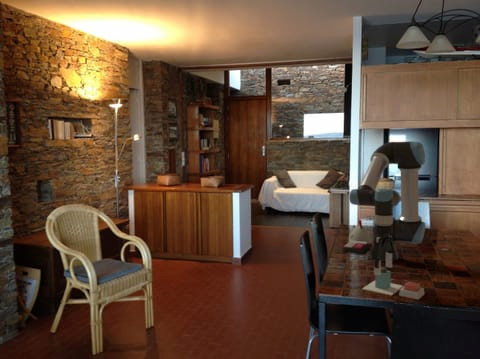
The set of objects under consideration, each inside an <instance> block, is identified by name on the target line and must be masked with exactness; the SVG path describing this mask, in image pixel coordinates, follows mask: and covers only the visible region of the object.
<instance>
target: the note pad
mask: <svg viewBox="0 0 480 359" xmlns="http://www.w3.org/2000/svg"><path fill="white" fill-rule="evenodd" d="M402 287H404V285H401V284H397V283H392V282H391V284H390V287H389V288H388V289H387V290H385V289H381V288H376V287H375V280H373V281H372V282H370V283H368V284H367V285H365V286H364V287H362V290H363V291H367V292H371V293H378V294H382V295H387V296H390V297H391V296H393V295H394V294H395V293H397V292H398V291H400V289H401V288H402Z"/></svg>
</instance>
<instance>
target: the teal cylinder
mask: <svg viewBox="0 0 480 359" xmlns="http://www.w3.org/2000/svg"><path fill="white" fill-rule="evenodd" d="M387 268H388V267H382V266H381V275H380V276H379V275H375V278H374V281H375V287H376V288H381V289H385V290H387V289H388V288H389V287H390V284H391V283H392V281H391V275H392V273H391V271H390V270H388V269H387Z"/></svg>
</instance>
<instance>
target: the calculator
mask: <svg viewBox="0 0 480 359" xmlns="http://www.w3.org/2000/svg"><path fill="white" fill-rule="evenodd" d="M369 248H370V246H369V243H368V242H361V241H350V242H349V241H348V242H347V243H346V244H345V245H343V247H342V252H344V251H345V252H344V253H346V252H347V253H354V254H363V253H365V251H366V250H368V249H369Z"/></svg>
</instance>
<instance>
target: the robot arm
mask: <svg viewBox="0 0 480 359" xmlns="http://www.w3.org/2000/svg"><path fill="white" fill-rule="evenodd" d="M424 148H425V147H424V145H423V143H421V141H390V142H386V143H384V144H382V145H380V146H379V147H378V148H376V150H374V152H373V153H372V154H371V156H370V159H369V160H370V164H369V165H368V168H367V169H366V171H365V174H364V175H363V178H362V179H361V182H360V184H359V186H358V188H353V189H351V190H350V192H349V196H348V197H349V202H350V204H351V205H354V206H359V207H361V206H367V207H374V216H373V218H374V219H373V221H372V245H371V247H370V251H369V253H368V254H369V257H368V258H369V259H370V260H372V261H373V275H379V276H380V275H381V267H382V266H381V265H382V262H383V263H385V268H393V262H397V261H398V260H399V253H398V251H397V248H396V245H395V244H396V242H400V243H409V244H420V243H421V242H422V241H423V239H424V236H425V232H426V222H424V221H423V220H422V217H421V216H420V215H419V171H420V170H421V168H422V165H424V164H425V162H426V153H425V149H424ZM389 165H397V169H398V170H399V171H400V194H399V192H398V191H397V190H394V189H391V188H377V187H378V184H379V183H380V180H381V177H382V175H383V173H384V171H385V169H386V168H387V167H389ZM376 188H377V189H376ZM399 203H400V210H401V211H400V212H401V213H400V215H399V216H398V218H397V219H396V217H395V216H394V215H393V214H394V213H393V211H394V207H396V206H397V205H399Z"/></svg>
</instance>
